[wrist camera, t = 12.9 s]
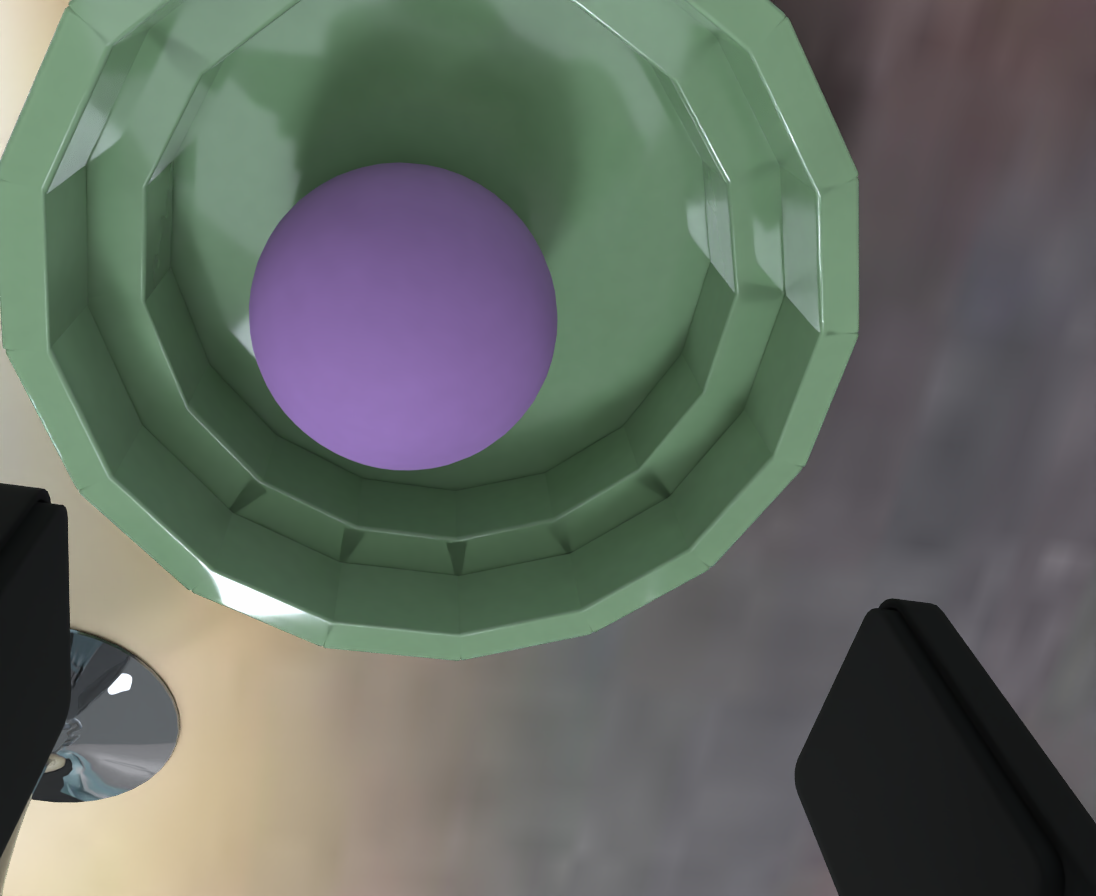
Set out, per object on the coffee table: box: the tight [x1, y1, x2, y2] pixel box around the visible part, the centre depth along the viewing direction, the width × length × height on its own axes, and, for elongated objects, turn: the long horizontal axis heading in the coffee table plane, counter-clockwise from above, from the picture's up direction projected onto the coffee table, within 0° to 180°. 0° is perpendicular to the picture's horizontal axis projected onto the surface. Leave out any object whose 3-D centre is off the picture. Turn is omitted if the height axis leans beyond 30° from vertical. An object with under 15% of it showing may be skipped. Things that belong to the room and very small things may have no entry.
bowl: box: [0, 0, 859, 661], centre depth 20 cm, size 16×16×5 cm
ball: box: [249, 162, 557, 470], centre depth 19 cm, size 6×6×6 cm
